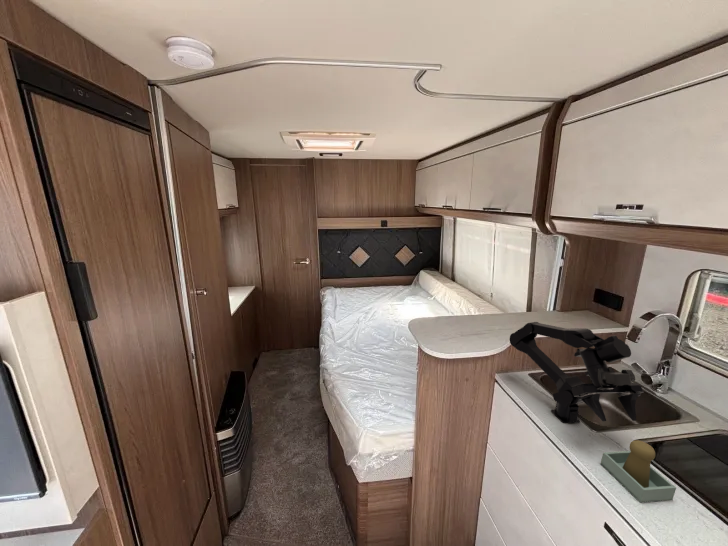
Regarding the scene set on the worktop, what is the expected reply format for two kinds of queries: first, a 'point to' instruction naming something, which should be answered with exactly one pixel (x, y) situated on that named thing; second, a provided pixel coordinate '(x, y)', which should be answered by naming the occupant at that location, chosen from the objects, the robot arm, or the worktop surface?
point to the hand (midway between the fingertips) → (619, 420)
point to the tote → (657, 483)
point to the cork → (639, 462)
